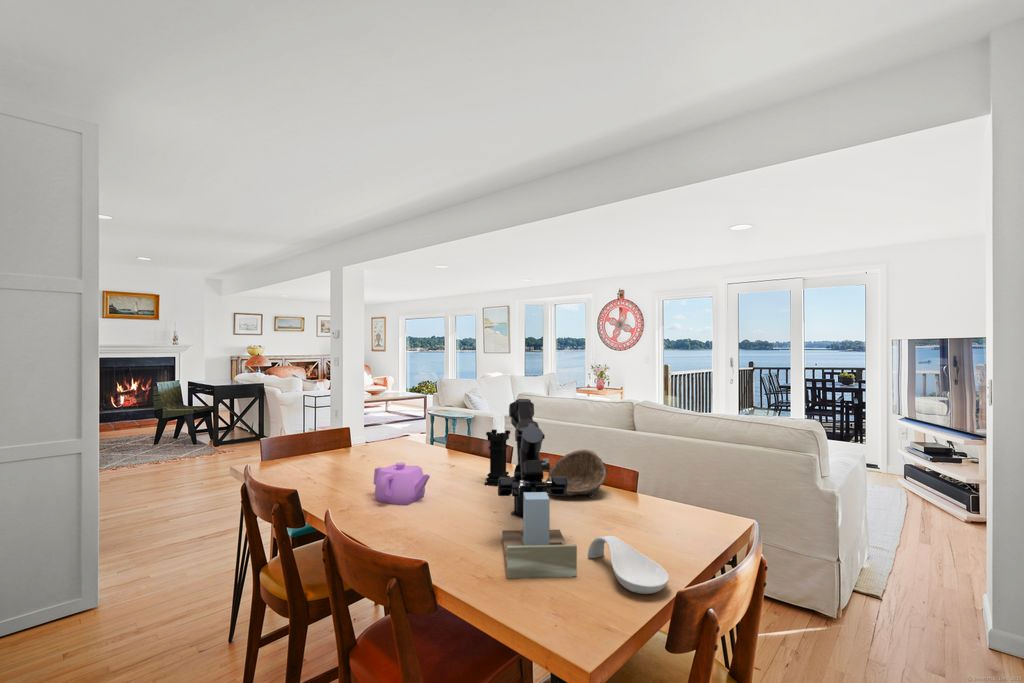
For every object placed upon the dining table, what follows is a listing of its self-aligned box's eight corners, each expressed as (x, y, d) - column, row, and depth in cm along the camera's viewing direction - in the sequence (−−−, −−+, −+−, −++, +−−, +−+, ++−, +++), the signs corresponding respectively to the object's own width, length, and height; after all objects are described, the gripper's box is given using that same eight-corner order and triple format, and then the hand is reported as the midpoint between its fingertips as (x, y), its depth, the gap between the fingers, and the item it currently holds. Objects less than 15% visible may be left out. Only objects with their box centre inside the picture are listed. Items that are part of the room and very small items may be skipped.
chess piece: (511, 481, 195) (511, 430, 195) (504, 487, 187) (504, 433, 187) (492, 479, 197) (492, 429, 197) (484, 485, 190) (484, 432, 190)
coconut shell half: (552, 505, 167) (618, 480, 172) (534, 464, 176) (597, 441, 182) (549, 520, 179) (612, 496, 184) (533, 481, 188) (593, 459, 193)
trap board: (502, 537, 138) (502, 512, 138) (559, 536, 139) (559, 511, 139) (507, 578, 114) (507, 547, 114) (576, 576, 115) (576, 546, 115)
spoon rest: (680, 594, 107) (680, 561, 107) (637, 607, 102) (637, 572, 102) (612, 553, 129) (612, 525, 129) (574, 561, 124) (574, 532, 124)
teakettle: (371, 494, 177) (371, 460, 177) (418, 489, 184) (419, 456, 184) (379, 509, 161) (379, 471, 161) (430, 503, 168) (431, 466, 168)
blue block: (523, 542, 130) (523, 492, 130) (546, 542, 130) (546, 492, 130) (525, 552, 124) (525, 499, 124) (549, 551, 124) (549, 499, 124)
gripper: (498, 447, 135) (500, 500, 124) (566, 447, 136) (574, 499, 125) (497, 469, 143) (498, 521, 132) (561, 469, 144) (568, 520, 133)
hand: (534, 515), depth 130 cm, fingers closed
